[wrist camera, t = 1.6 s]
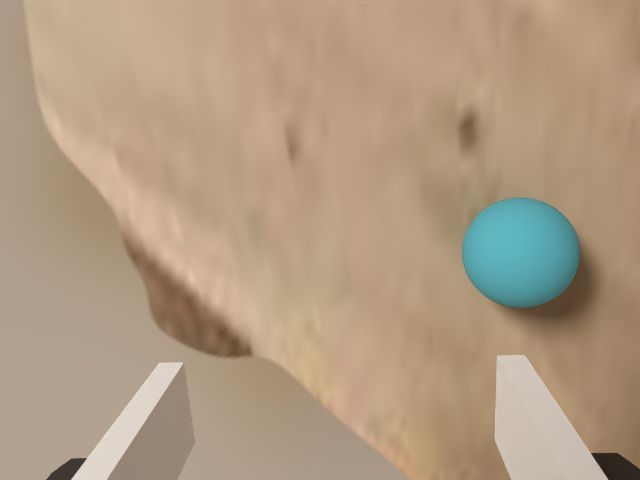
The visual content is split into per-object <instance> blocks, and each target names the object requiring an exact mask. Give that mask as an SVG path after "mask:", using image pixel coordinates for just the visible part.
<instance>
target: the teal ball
mask: <svg viewBox="0 0 640 480" xmlns="http://www.w3.org/2000/svg"><path fill="white" fill-rule="evenodd" d="M462 258H463V264H464V267H465V270H466V273H467V275H468V277H469V279H470V281H471V282H472V283H473V285H474V286H475V287H476V288H477V289H478V290H479V291H480V292H481V293H482V294H483V295H484V296H486V297H487V298H489V299H491V300H492V301H494V302H497V303H499V304H502V305H505V306H510V307H516V308H527V307H534V306H538V305H541V304H544V303H547V302H549V301H551V300H552V299H554V298H556V297H557V296H558V295H560V294H561V293H562V292H563V291H564V290H565V289H566V288H567V287H568V286H569V284H570V283H571V282H572V280H573V278H574V276H575V274H576V272H577V269H578V265H579V260H580V247H579V241H578V238H577V234H576V232H575V230H574V228H573V227H572V225H571V224H570V222H569V221H568V219H567V218H566V217H565V216H564V215H563V214H562V213H561V212H559V211H558V210H557V209H556V208H554V207H552V206H551V205H549V204H547V203H544V202H542V201H538V200H535V199H530V198H512V199H506V200H502V201H499V202H497V203H494V204H493V205H491V206H489V207H487V208H486V209H484V210H483V211H482V212H481V213H480V214H478V215H477V217H476V218H475V219H474V220H473V221H472V223H471V224H470V226H469V228H468V230H467V231H466V234H465V237H464V241H463V248H462Z"/></svg>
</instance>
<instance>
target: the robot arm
mask: <svg viewBox="0 0 640 480" xmlns="http://www.w3.org/2000/svg"><path fill="white" fill-rule="evenodd" d="M495 442H496V444H497V446H498V449H499V451H500V454H501V456H502V459H503V461H504V463H505V466H506V468H507V471H508V473H509V475H510V478H511V480H640V469H639V468H638V467H636V466H635V465H633V464H632V463H631V462H629V461H628V460H626V459H625V458H624V457H622V456H621V455H619V454H618V453H590V452H589V450H588V449H587V447H586V446H585V444H584V443H583V441H582V440H581V438H580V437H579V435H578V434H577V432H576V431H575V429H574V428H573V426H572V425H571V423H570V422H569V420H568V419H567V417H566V416H565V414H564V413H563V411H562V410H561V408H560V407H559V405H558V404H557V402H556V401H555V399H554V398H553V396H552V395H551V394H550V392H549V391H548V389H547V388H546V386H545V385H544V383H543V382H542V380H541V379H540V377H539V376H538V374H537V373H536V371H535V370H534V368H533V367H532V365H531V364H530V362H529V361H528V359H527V358H526V356H525V355H501V356H497V376H496V409H495ZM194 443H195V439H194V432H193V425H192V418H191V411H190V404H189V396H188V388H187V381H186V374H185V367H184V362H182V363H159V364H158V365H157V367H156V368H155V369H154V371H153V372H152V373H151V374H150V376H149V377H148V378H147V380H146V381H145V382H144V384H143V385H142V387H141V388H140V389H139V390H138V392H137V393H136V394H135V396H134V397H133V398H132V400H131V401H130V402H129V404H128V405H127V406H126V408H125V409H124V410H123V412H122V413H121V414H120V416H119V417H118V418H117V420H116V421H115V422H114V424H113V425H112V426H111V427H110V429H109V430H108V431H107V433H106V434H105V435H104V437H103V438H102V439H101V441H100V442H99V443H98V445H97V446H96V447H95V449H94V450H93V452H92V453H91V454H90V455H89V457H88V458H76V459H70V460H69V461H68V462H66V463H65V464H63V465H62V466H61V467H59V468H58V469H57V470H55V471H54V472H53V473H51V475H50V476H49V477H48V478H47V479H46V480H177V479H178V477H179V475H180V473H181V471H182V468H183V466H184V464H185V462H186V460H187V458H188V456H189V454H190V452H191V449H192V447H193V445H194Z"/></svg>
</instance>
